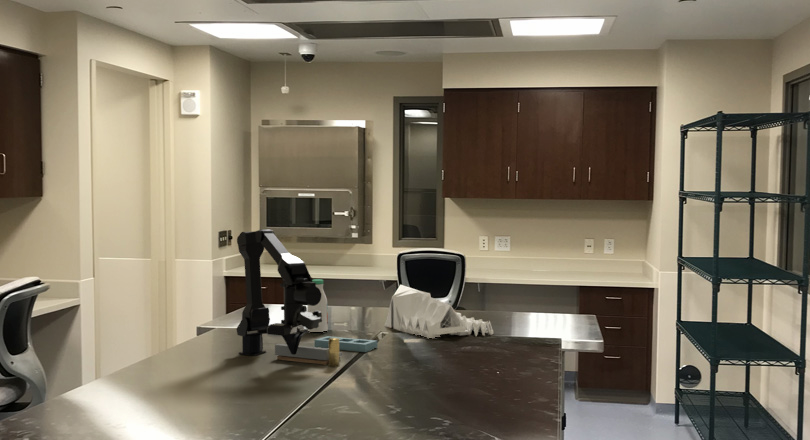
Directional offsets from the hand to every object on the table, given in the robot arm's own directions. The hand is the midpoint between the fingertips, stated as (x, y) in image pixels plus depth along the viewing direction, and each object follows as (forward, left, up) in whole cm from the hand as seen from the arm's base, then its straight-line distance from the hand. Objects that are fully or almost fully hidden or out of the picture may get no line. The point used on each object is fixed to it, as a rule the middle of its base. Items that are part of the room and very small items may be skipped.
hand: (293, 354), depth 219 cm
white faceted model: (+78, -12, -4) cm, 79 cm away
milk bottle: (+53, +27, -3) cm, 59 cm away
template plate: (+8, 0, -3) cm, 8 cm away
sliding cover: (+8, 0, -2) cm, 8 cm away
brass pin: (+4, -12, -3) cm, 13 cm away
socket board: (+30, 0, -3) cm, 30 cm away
